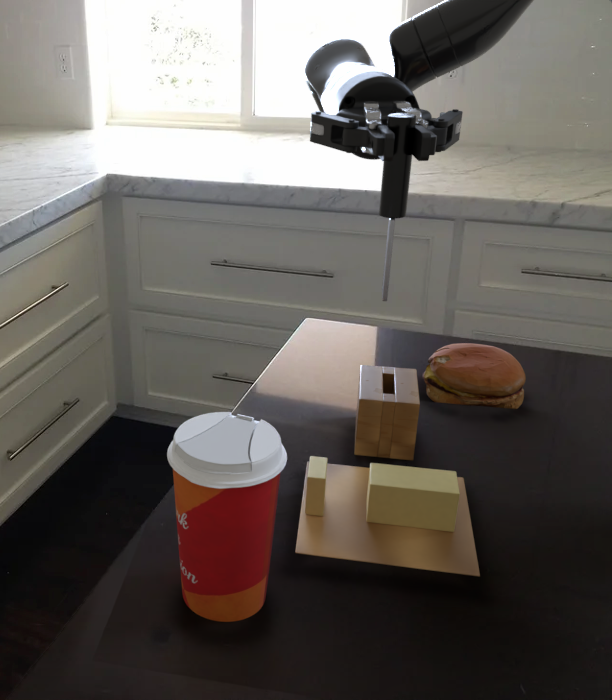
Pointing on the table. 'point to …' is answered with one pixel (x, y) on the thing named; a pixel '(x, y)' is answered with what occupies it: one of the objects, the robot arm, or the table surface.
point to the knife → (396, 182)
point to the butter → (412, 497)
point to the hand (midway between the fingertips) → (407, 147)
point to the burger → (475, 376)
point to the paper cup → (225, 511)
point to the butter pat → (316, 486)
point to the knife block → (387, 412)
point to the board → (381, 530)
